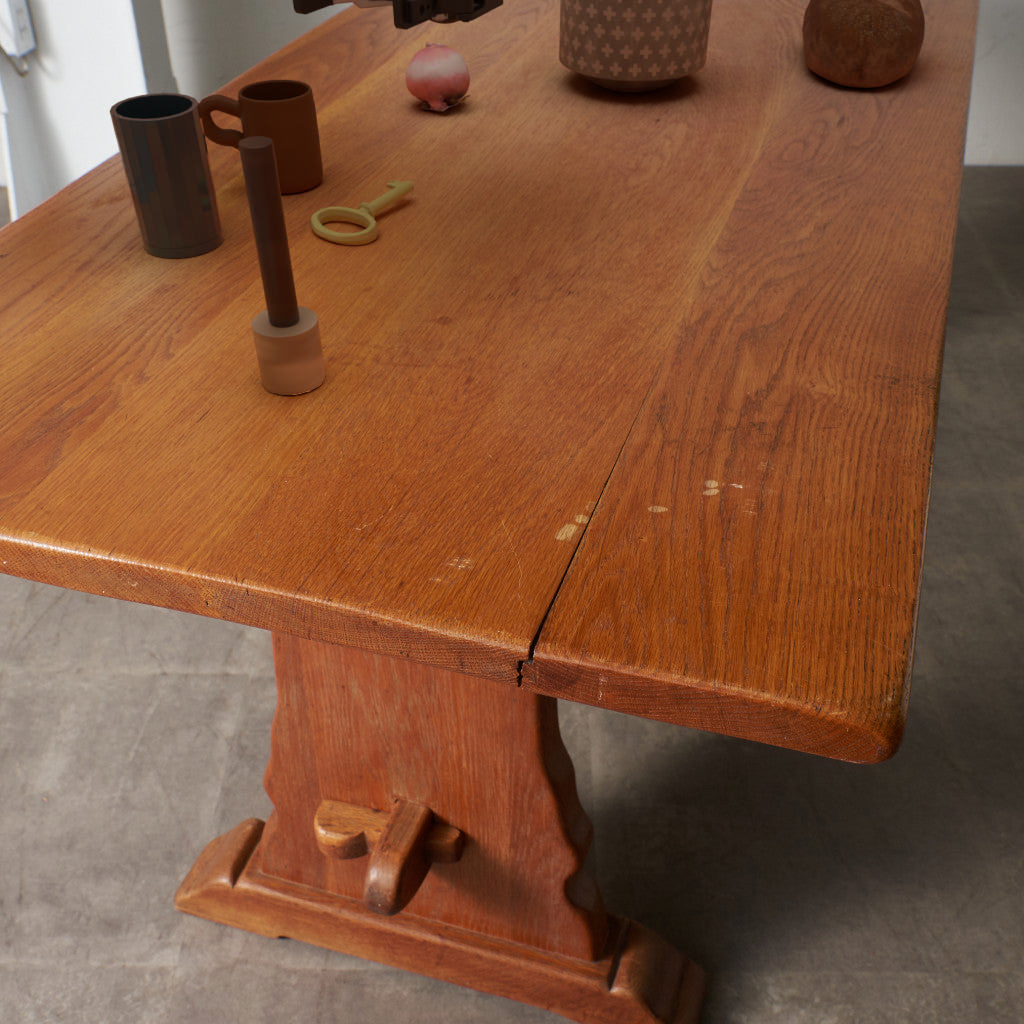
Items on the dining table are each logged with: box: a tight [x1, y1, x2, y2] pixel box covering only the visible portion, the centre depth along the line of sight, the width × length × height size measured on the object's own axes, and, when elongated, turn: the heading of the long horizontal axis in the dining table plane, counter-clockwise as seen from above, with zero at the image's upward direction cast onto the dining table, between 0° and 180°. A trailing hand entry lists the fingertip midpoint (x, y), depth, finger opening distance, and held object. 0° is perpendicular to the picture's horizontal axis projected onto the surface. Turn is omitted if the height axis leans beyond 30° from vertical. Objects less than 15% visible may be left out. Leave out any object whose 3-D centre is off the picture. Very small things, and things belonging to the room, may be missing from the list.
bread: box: [801, 0, 926, 89], centre depth 137 cm, size 16×29×11 cm, turn 167°
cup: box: [109, 92, 225, 259], centre depth 92 cm, size 7×7×12 cm
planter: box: [558, 0, 714, 93], centre depth 127 cm, size 19×19×18 cm
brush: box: [238, 136, 327, 396], centre depth 71 cm, size 5×5×18 cm
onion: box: [405, 42, 471, 112], centre depth 124 cm, size 8×8×7 cm
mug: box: [198, 79, 324, 195], centre depth 104 cm, size 12×8×9 cm, turn 97°
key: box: [310, 179, 415, 246], centre depth 99 cm, size 7×12×2 cm, turn 161°
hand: (345, 5), depth 69 cm, fingers open, 8 cm apart
